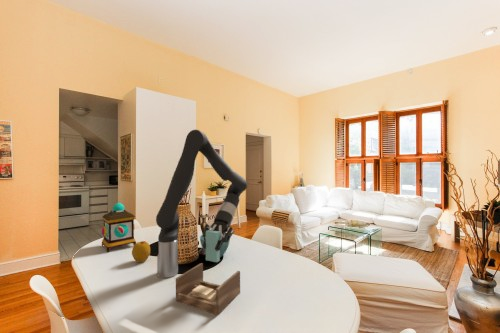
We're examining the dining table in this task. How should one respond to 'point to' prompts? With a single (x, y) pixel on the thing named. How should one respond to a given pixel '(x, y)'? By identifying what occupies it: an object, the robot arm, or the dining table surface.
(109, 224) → the decorative lantern
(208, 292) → the offcut stack
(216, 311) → the walnut rack
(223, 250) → the plant pot
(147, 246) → the apple
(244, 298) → the dining table surface
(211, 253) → the teal board
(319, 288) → the dining table surface
